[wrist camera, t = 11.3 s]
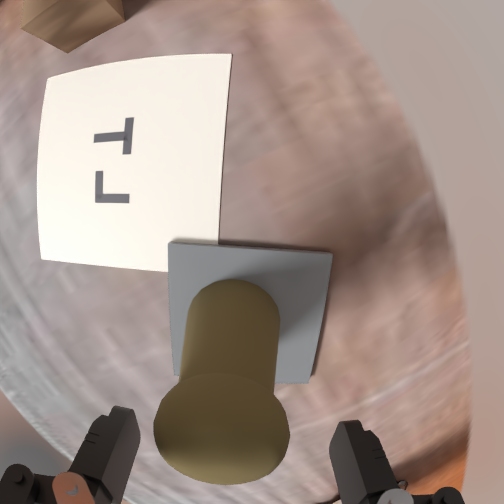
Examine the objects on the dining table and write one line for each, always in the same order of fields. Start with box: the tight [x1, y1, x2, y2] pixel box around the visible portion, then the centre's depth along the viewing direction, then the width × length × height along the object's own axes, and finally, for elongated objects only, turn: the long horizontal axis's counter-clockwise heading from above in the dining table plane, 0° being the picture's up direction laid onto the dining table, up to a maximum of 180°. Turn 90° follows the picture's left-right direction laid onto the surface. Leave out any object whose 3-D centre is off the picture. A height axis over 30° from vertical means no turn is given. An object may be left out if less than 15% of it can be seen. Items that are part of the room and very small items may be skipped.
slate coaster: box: [168, 242, 333, 384], centre depth 19 cm, size 10×10×1 cm
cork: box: [154, 279, 290, 485], centre depth 13 cm, size 6×6×11 cm
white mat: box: [37, 54, 232, 272], centre depth 16 cm, size 14×14×1 cm
